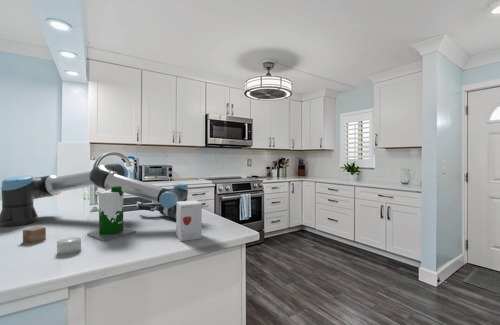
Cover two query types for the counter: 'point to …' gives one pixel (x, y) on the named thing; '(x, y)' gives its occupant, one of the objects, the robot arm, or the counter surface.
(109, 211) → the soya milk
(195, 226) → the supplement box
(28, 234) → the walnut block
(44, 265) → the counter surface
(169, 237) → the counter surface
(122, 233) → the slate board
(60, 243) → the white cylinder puck
